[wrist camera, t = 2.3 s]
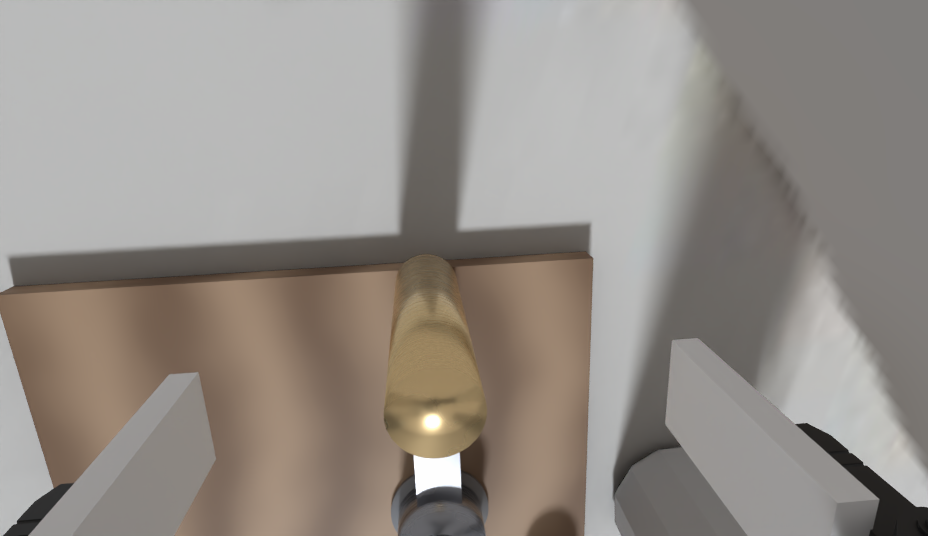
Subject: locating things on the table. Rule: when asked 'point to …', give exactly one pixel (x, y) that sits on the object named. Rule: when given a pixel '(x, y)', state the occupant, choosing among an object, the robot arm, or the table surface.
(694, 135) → the table surface
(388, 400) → the lever
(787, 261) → the table surface
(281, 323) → the nutcracker base
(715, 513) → the water bottle
